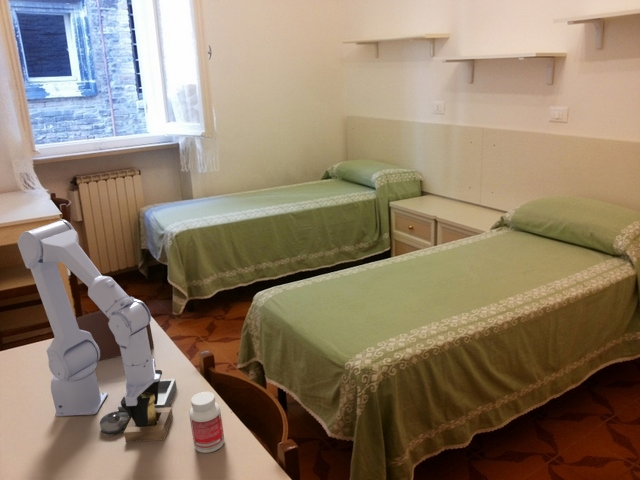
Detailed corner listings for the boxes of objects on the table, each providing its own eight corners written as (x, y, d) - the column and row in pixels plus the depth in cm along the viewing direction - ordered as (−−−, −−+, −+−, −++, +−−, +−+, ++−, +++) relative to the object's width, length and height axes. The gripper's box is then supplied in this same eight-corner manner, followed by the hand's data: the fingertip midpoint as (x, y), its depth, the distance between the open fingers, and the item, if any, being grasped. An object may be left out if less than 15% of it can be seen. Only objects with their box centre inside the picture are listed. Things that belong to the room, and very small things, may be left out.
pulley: (97, 435, 121) (94, 424, 121) (106, 418, 127) (104, 407, 126) (124, 434, 121) (122, 423, 120) (133, 417, 127) (131, 406, 126)
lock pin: (137, 435, 121) (131, 404, 118) (143, 423, 125) (137, 392, 122) (157, 434, 121) (151, 403, 118) (162, 422, 125) (156, 391, 122)
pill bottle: (229, 445, 116) (223, 399, 112) (201, 458, 113) (194, 411, 109) (217, 430, 121) (210, 385, 117) (189, 442, 118) (182, 396, 114)
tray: (119, 417, 127) (117, 407, 126) (133, 390, 137) (132, 381, 136) (165, 414, 127) (164, 404, 126) (176, 388, 137) (175, 378, 136)
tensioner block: (125, 441, 119) (123, 432, 118) (137, 418, 127) (135, 409, 126) (163, 439, 119) (162, 430, 118) (172, 416, 126) (171, 407, 126)
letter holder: (154, 348, 157) (146, 302, 152) (77, 367, 150) (66, 319, 145) (149, 333, 165) (142, 289, 161) (77, 350, 158) (66, 304, 154)
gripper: (146, 377, 110) (156, 435, 115) (165, 340, 124) (174, 393, 128) (110, 379, 110) (122, 437, 115) (133, 342, 124) (143, 395, 128)
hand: (147, 414), depth 121 cm, fingers open, 7 cm apart
